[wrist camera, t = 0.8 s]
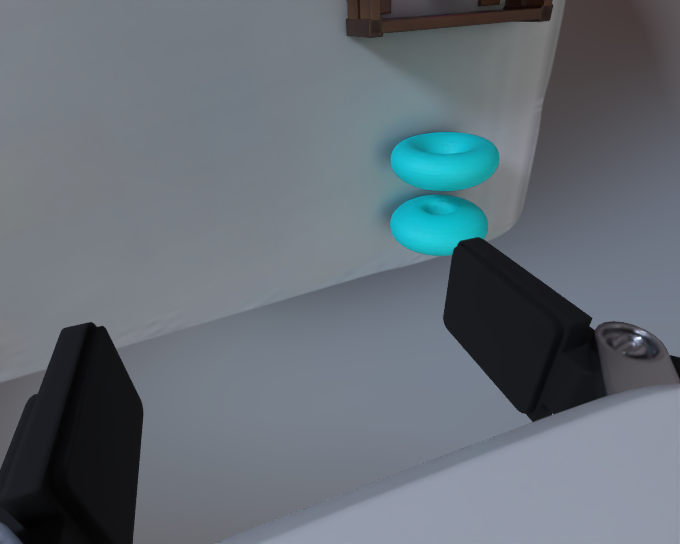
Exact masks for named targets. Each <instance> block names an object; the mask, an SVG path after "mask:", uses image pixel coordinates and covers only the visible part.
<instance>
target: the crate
mask: <svg viewBox="0 0 680 544" xmlns="http://www.w3.org/2000/svg"><path fill="white" fill-rule="evenodd" d="M347 3H348V19H346V31H347V36H355V37H366V38H373V37H382V36H383V33H394V32H404V31H415V30H426V29H437V28H448V27H459V26H470V25H480V24H491V23H502V22H542V21H549V20H550V18H551V13H552V8H553V4H552V0H506V5H505V7H504V8H503V9H499V10H487V11H475V12H463V13H450V14H438V15H426V16H414V17H402V18H390V19H383V18H381V14H385V13H391V0H347ZM499 4H500V0H479V3H478V6H486V5H499Z"/></svg>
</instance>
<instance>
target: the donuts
mask: <svg viewBox="0 0 680 544" xmlns="http://www.w3.org/2000/svg"><path fill="white" fill-rule="evenodd" d="M498 164H499V153H498V150H497V148H496V147H495V146H494V144H493V143H491V142H490V141H488V140H487V139H485V138H482V137H480V136H476V135H472V134H466V133H458V132H433V133H425V134H420V135H416V136H412V137H409V138H407V139H405V140H403V141H401V142H400V143H399V144H398V145H397V146H396V147H395V148H394V150H393V152H392V155H391V165H392V168H393V171H394V172H395V173H396V175H397V176H398V177H399V178H400V179H402V180H403V181H404V182H406V183H408V184H410V185H412V186H415V187H418V188H422V189H426V190H433V191H455V190H461V189H466V188H470V187H473V186H476V185H478V184H480V183H482V182H484V181H485V180H487V179H488V178H489V177H490V176H491V175H492V174H493V173H494V172H495V170H496V169H497V167H498ZM390 228H391V232H392V234H393V236H394V238H395V239H396V240H397V241H398V242H399V243H400V244H401V245H403V246H404V247H406V248H408V249H410V250H412V251H415V252H418V253H421V254H426V255H434V256H448V255H452V254H453V249H454V248H455V247H457V244H458V243H459V242H460V241H462V240H466V239H471V238H475V237H480V238H482V239H484V238H485V236H486V234H487V231H488V221H487V218H486V216H485V214H484V213H483V211H482V210H481V209H480V208H479V207H477V206H476V205H475V204H473V203H472V202H470V201H468V200H465V199H462V198H459V197H456V196H450V195H425V196H420V197H416V198H413V199H411V200H408V201H406V202H405V203H403V204H402V205H400V206H399V207H398V208H397V209H396V210H395V212H394V213H393V215H392V217H391V221H390Z"/></svg>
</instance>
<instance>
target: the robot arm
mask: <svg viewBox="0 0 680 544" xmlns="http://www.w3.org/2000/svg"><path fill="white" fill-rule="evenodd" d="M443 320H444V324H445V326H446V328H447V329H448V330H449V332H450V333H451V334H452V335H453V336H454V337H455V339H456V340H457V341H458V342H459V343H460V344H461V345H462V347H463V348H464V349H465V350H466V351H467V352H468V354H469V355H470V356H471V357H472V358H473V359H474V360H475V362H476V363H477V364H478V365H479V366H480V367H481V369H483V371H484V372H485V373H486V374H487V375H488V376H489V378H490V379H491V380H492V381H493V382H494V383H495V385H496V386H497V387H498V388H499V389H500V390H501V391H502V393H503V394H504V395H505V396H506V397H507V398H508V399H509V401H510V402H511V403H512V404H513V405H514V406H515V408H516V409H517V410H518V411H519V412H521V413H525V414H526V415H527V416H528V417H529V418H530V419H531V420H532V423H529V424H527V425H524V426H521V427H519V428H516V429H514V430H511V431H508V432H505V433H502V434H500V435H497V436H494V437H492V438H489V439H486V440H484V441H481V442H478V443H476V444H473V445H470V446H468V447H465V448H462V449H460V450H457V451H454V452H452V453H449V454H446V455H444V456H441V457H438V458H436V459H433V460H431V461H428V462H425V463H422V464H420V465H417V466H415V467H412V468H409V469H407V470H404V471H402V472H399V473H396V474H393V475H391V476H388V477H386V478H383V479H380V480H378V481H375V482H372V483H370V484H367V485H364V486H362V487H359V488H356V489H354V490H351V491H349V492H346V493H343V494H341V495H338V496H336V497H333V498H330V499H328V500H325V501H323V502H320V503H317V504H315V505H312V506H310V507H307V508H304V509H302V510H299V511H296V512H294V513H291V514H289V515H286V516H284V517H281V518H278V519H276V520H273V521H270V522H268V523H265V524H263V525H260V526H257V527H255V528H252V529H250V530H247V531H244V532H242V533H239V534H237V535H235V536H232V537H229V538H227V539H224V540H221V541H219V542H216V543H214V544H680V358H679V357H675V356H671V355H669V353H668V351H667V349H666V347H665V346H664V344H663V343H662V342H661V341H660V340H659V339H658V338H657V337H656V336H655V335H653V334H651V333H650V332H648V331H646V330H645V329H642V328H640V327H637V326H635V325H632V324H628V323H624V322H615V321H613V322H605V323H602V324H600V325H598V327H597V328H596V329H595V330H594V329H592V328H591V327H590V326H589V325H590V323H591V320H592V318H591V317H590V316H589V315H587V314H586V313H585V312H583V311H582V310H580V309H579V308H578V307H576V306H575V305H574V304H572V303H571V302H569V301H568V300H567V299H565V298H564V297H562V296H561V295H560V294H558V293H557V292H556V291H554V290H553V289H551V288H550V287H549V286H547V285H546V284H544V283H543V282H542V281H540V280H539V279H537V278H536V277H535V276H533V275H532V274H530V273H529V272H528V271H527V270H525V269H524V268H522V267H521V266H520V265H518V264H517V263H515V262H514V261H512V260H511V259H510V258H509V257H507V256H506V255H504V254H503V253H502V252H500V251H499V250H497V249H496V248H494V247H493V246H492V245H491V244H489V243H488V242H486V241H485V240H484V239H482V238H480V237H475V238H471V239H466V240H462V241H460V242H459V243H458V244H457V247H455V248H454V249H453V254H452V260H451V267H450V275H449V282H448V288H447V295H446V302H445V309H444V316H443ZM552 413H553V414H554V415H552ZM142 425H143V406H142V402H141V399H140V397H139V395H138V393H137V391H136V389H135V387H134V385H133V383H132V381H131V379H130V377H129V375H128V373H127V371H126V369H125V367H124V365H123V362H122V360H121V358H120V356H119V354H118V352H117V350H116V348H115V346H114V344H113V342H112V340H111V338H110V336H109V334H108V332H107V330H106V328H105V327H104V326H100V327H96V325H95V324H94V323H92V322H89V323H85V324H80V325H76V326H71V327H66V328H64V329H62V331H61V333H60V335H59V338H58V341H57V343H56V346H55V349H54V352H53V354H52V357H51V360H50V362H49V365H48V368H47V371H46V373H45V376H44V379H43V381H42V384H41V387H40V390H39V392H38V394H35V395H33V396H32V397H30V398H29V400H28V402H27V403H26V405H25V408H24V410H23V413H22V416H21V418H20V421H19V423H18V426H17V428H16V431H15V434H14V436H13V439H12V441H11V444H10V446H9V449H8V451H7V454H6V456H5V459H4V462H3V464H2V467H1V469H0V544H133V532H134V531H133V530H134V520H135V508H136V496H137V484H138V472H139V461H140V449H141V436H142Z"/></svg>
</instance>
